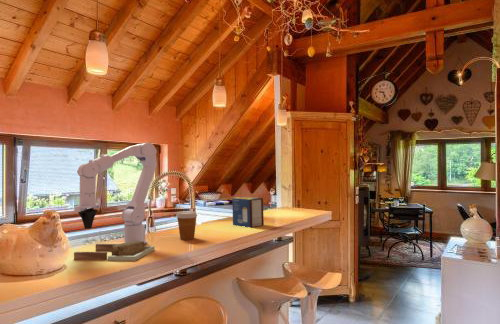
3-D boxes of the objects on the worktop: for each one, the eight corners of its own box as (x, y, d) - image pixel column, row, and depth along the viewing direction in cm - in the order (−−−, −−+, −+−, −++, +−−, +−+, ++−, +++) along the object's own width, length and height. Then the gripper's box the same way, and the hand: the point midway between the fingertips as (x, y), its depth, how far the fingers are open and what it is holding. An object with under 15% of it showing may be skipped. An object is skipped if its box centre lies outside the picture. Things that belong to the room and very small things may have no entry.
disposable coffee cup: (172, 240, 162) (172, 213, 162) (182, 236, 171) (182, 211, 171) (192, 241, 159) (191, 214, 160) (201, 237, 168) (200, 211, 169)
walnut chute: (97, 249, 145) (97, 243, 145) (125, 250, 143) (125, 243, 143) (74, 259, 130) (73, 252, 130) (105, 259, 128) (105, 252, 128)
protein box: (246, 222, 211) (245, 196, 212) (264, 225, 200) (263, 197, 200) (232, 224, 205) (231, 197, 205) (249, 227, 193) (249, 199, 193)
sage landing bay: (130, 249, 144) (130, 245, 144) (154, 249, 143) (154, 246, 143) (107, 260, 127) (107, 256, 127) (135, 260, 126) (135, 256, 126)
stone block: (145, 254, 136) (145, 241, 136) (118, 260, 127) (118, 246, 127) (136, 252, 140) (136, 239, 140) (109, 258, 131) (109, 244, 131)
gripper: (88, 192, 148) (89, 225, 148) (66, 195, 134) (66, 231, 134) (104, 192, 148) (105, 225, 147) (84, 194, 133) (84, 231, 133)
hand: (88, 228), depth 140 cm, fingers closed
